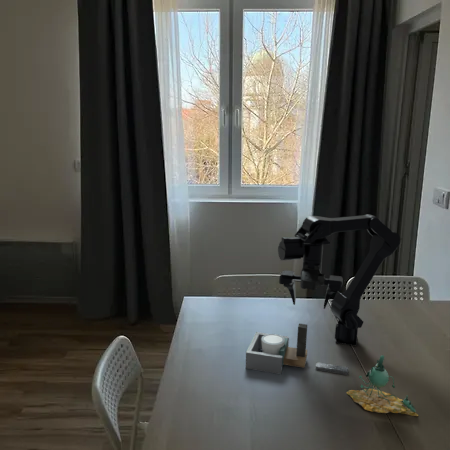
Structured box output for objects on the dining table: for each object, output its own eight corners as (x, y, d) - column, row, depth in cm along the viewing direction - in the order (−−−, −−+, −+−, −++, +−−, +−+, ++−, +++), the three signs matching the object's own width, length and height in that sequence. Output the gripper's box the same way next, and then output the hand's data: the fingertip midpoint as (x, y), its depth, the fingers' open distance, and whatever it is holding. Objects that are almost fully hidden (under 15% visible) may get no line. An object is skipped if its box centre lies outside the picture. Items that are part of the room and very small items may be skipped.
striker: (307, 355, 138) (309, 320, 135) (304, 368, 130) (306, 332, 128) (283, 351, 140) (284, 317, 137) (278, 364, 132) (280, 328, 130)
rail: (348, 370, 132) (348, 367, 132) (348, 374, 130) (348, 371, 130) (316, 365, 135) (316, 362, 135) (315, 369, 133) (315, 366, 132)
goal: (288, 351, 142) (288, 336, 141) (281, 374, 130) (281, 358, 129) (255, 346, 145) (256, 331, 144) (245, 368, 132) (246, 352, 131)
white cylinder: (283, 367, 133) (284, 345, 131) (259, 365, 134) (260, 343, 132) (284, 355, 140) (285, 334, 138) (261, 354, 141) (262, 332, 139)
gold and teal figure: (408, 431, 107) (408, 372, 105) (337, 407, 119) (336, 352, 117) (423, 412, 114) (423, 356, 112) (355, 390, 126) (353, 339, 124)
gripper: (277, 262, 135) (274, 312, 139) (343, 269, 130) (339, 321, 134) (283, 252, 146) (280, 299, 149) (344, 258, 141) (340, 306, 144)
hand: (309, 306), depth 144 cm, fingers open, 9 cm apart
